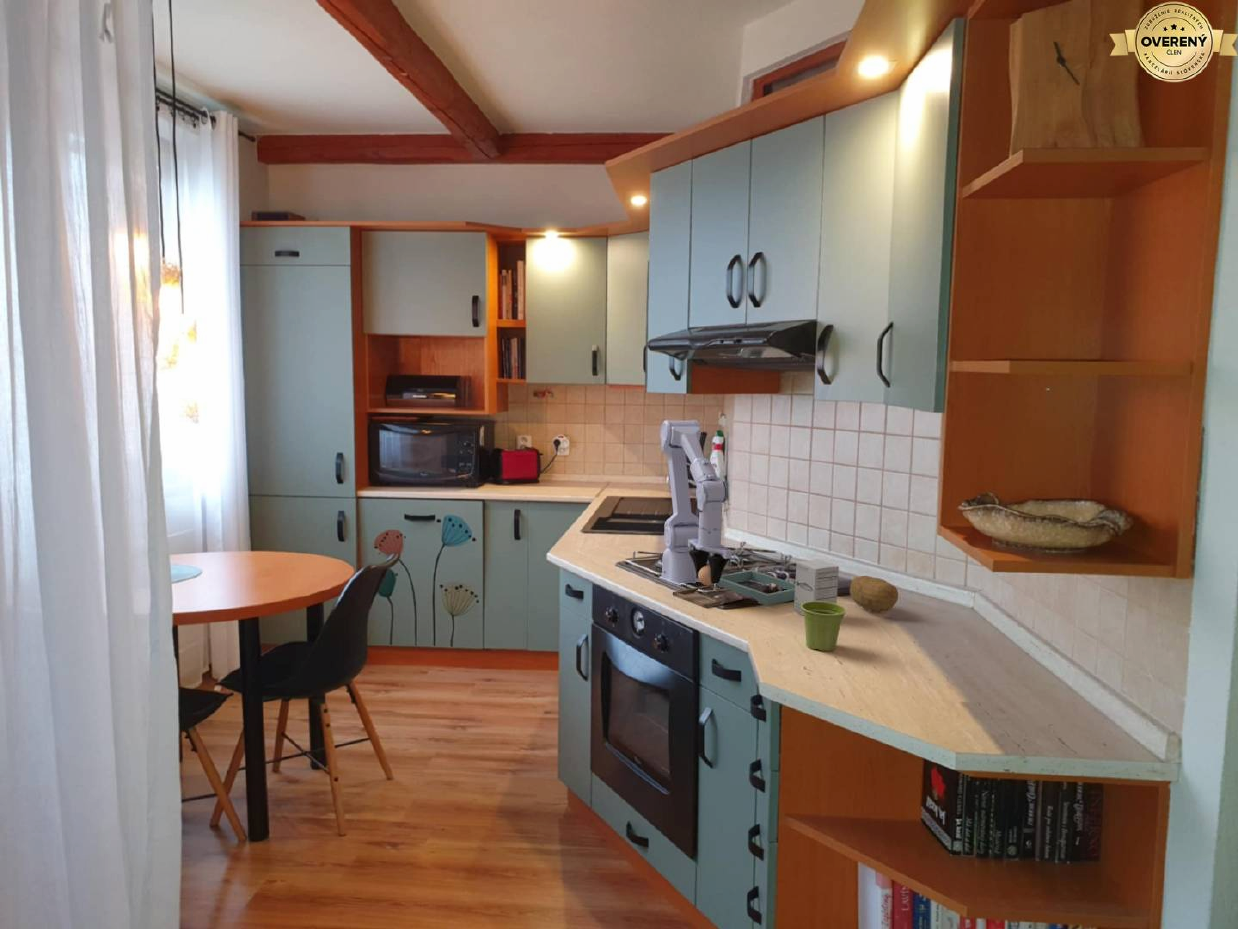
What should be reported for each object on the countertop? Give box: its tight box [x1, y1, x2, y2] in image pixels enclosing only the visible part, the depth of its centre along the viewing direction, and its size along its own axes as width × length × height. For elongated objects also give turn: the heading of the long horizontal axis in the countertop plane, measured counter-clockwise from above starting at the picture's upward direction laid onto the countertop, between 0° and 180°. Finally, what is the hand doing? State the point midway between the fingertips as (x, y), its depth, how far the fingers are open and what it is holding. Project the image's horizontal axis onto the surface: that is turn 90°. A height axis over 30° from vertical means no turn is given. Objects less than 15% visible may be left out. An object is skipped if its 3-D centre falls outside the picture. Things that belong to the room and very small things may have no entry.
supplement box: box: [793, 558, 840, 616], centre depth 198 cm, size 7×7×13 cm
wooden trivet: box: [672, 585, 736, 609], centre depth 209 cm, size 13×13×1 cm
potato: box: [849, 575, 899, 613], centre depth 203 cm, size 10×14×8 cm
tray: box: [716, 569, 795, 607], centre depth 215 cm, size 20×14×3 cm
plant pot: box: [801, 601, 847, 652], centre depth 176 cm, size 9×9×9 cm
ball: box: [698, 565, 713, 586], centre depth 208 cm, size 5×5×5 cm
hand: (708, 580), depth 209 cm, fingers closed on ball, 5 cm apart
